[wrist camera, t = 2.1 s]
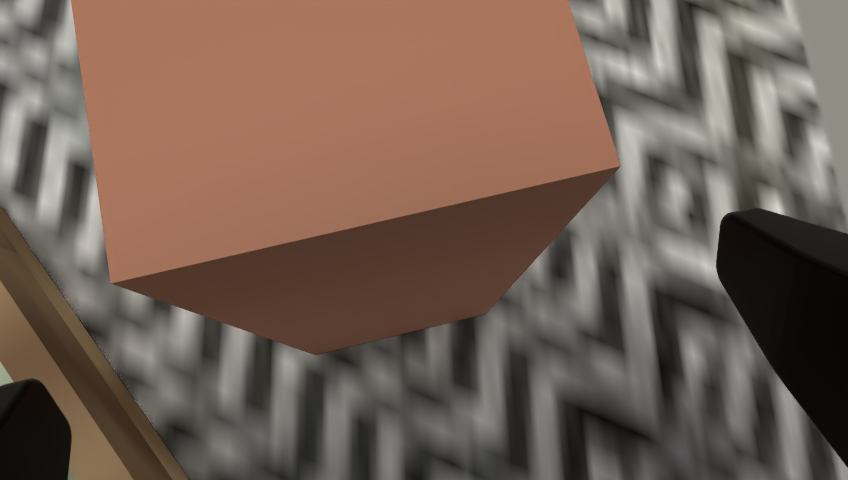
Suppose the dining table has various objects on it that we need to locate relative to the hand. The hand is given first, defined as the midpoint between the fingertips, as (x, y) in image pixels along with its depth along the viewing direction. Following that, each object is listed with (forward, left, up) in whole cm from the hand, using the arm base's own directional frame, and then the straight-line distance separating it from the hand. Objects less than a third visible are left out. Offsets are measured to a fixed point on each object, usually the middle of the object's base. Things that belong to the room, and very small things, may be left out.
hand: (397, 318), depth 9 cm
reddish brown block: (+3, -1, -10) cm, 11 cm away
